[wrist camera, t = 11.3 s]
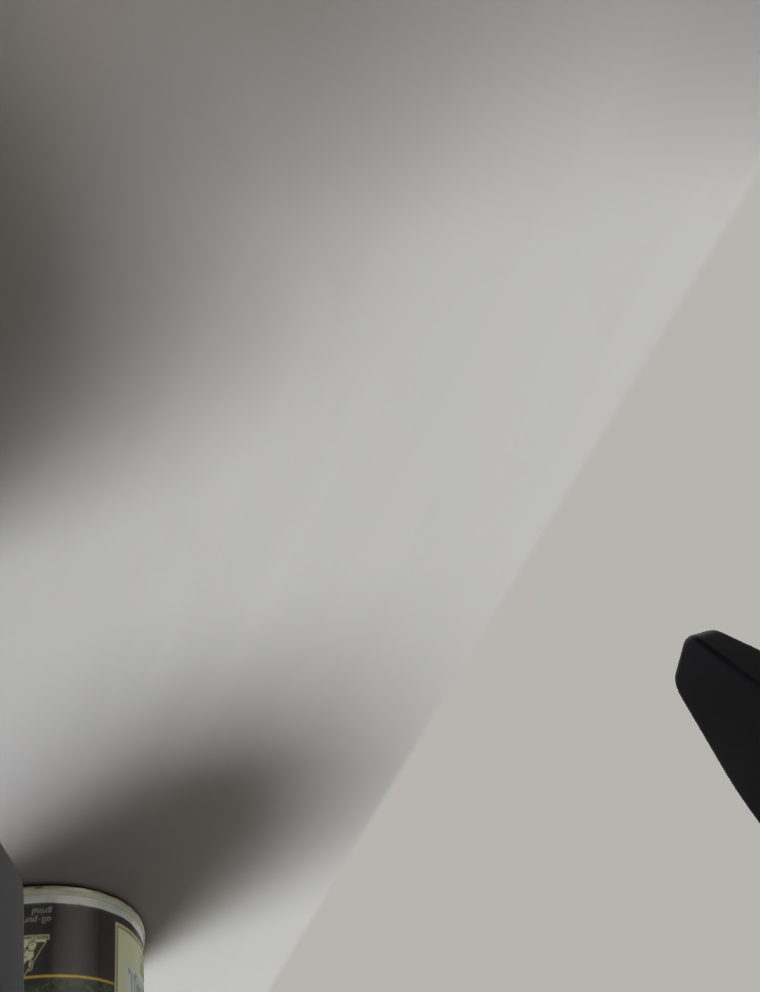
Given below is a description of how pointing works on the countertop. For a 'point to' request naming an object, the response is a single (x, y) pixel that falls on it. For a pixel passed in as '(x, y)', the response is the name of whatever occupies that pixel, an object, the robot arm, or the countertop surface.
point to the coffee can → (81, 942)
